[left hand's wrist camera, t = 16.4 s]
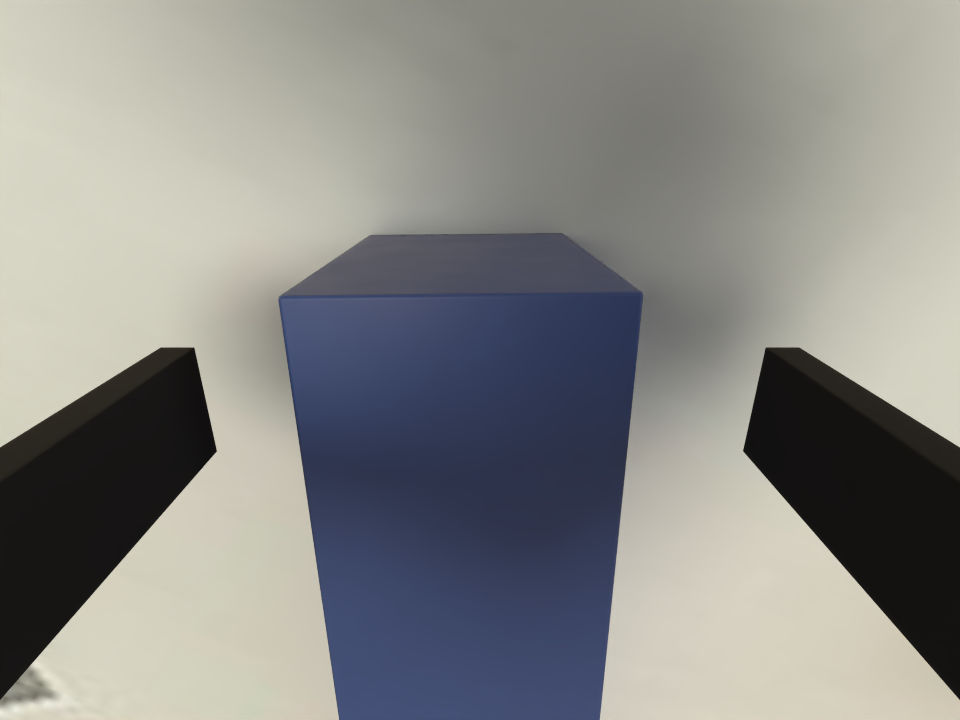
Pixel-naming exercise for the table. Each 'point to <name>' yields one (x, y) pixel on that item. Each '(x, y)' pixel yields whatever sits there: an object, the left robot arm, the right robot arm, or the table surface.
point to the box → (464, 469)
